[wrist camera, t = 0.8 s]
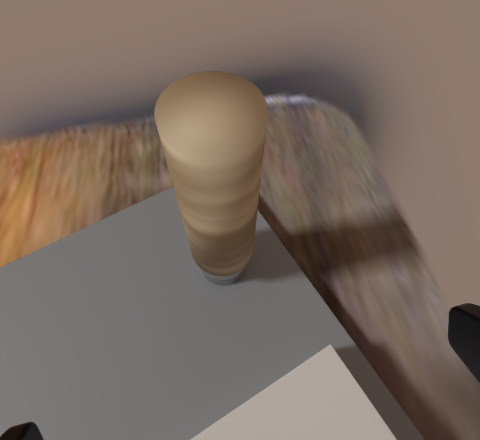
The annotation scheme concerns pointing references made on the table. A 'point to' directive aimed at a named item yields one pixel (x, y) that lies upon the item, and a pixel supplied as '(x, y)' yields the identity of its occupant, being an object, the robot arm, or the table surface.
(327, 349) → the white flat block
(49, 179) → the table surface
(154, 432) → the floor panel
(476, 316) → the robot arm
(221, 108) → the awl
